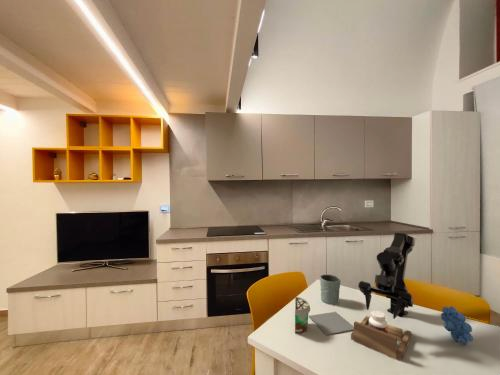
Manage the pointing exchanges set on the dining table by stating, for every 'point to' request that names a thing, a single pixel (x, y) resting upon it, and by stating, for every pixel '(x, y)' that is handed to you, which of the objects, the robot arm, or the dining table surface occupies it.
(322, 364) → the dining table surface
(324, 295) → the grey-green rounded cylinder
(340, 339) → the dining table surface
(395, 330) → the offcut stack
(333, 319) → the slate mat
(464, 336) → the grapes
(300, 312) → the food container
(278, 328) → the dining table surface
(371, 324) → the pill bottle
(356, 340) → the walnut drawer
